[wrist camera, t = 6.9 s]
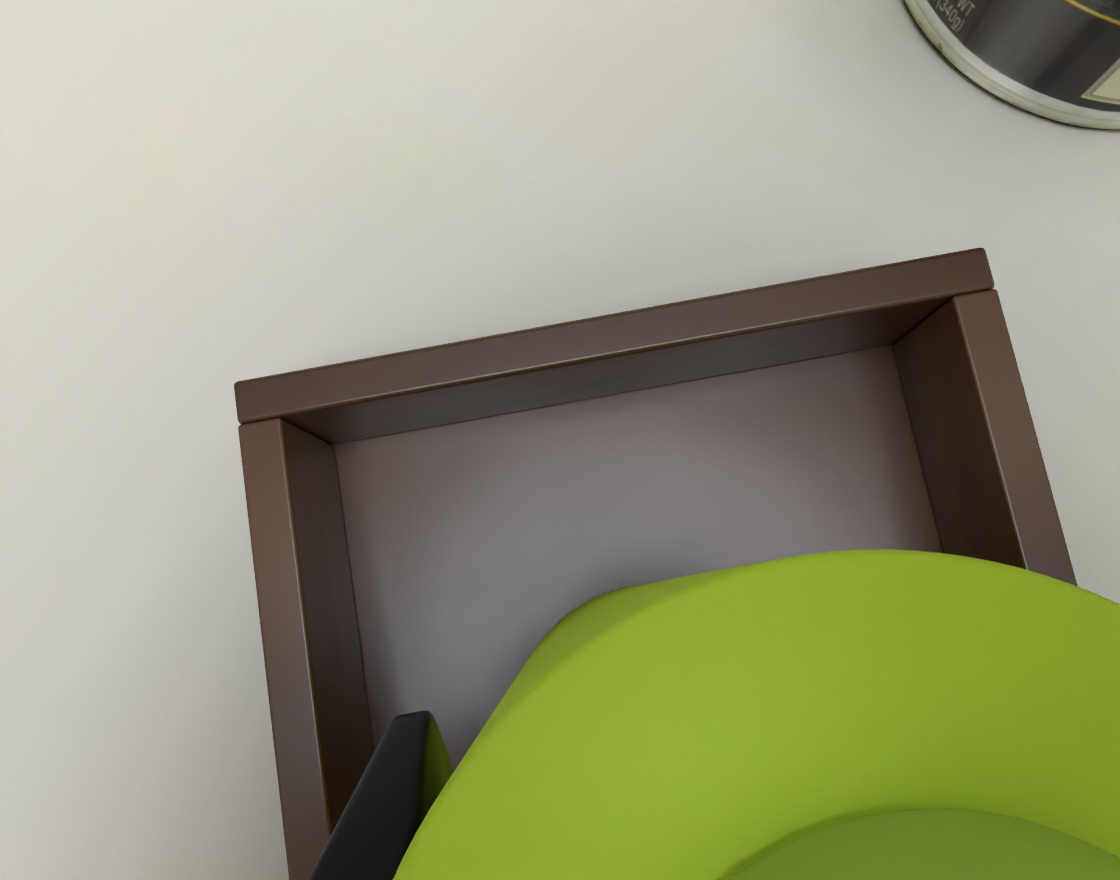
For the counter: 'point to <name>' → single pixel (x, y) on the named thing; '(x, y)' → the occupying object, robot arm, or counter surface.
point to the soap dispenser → (801, 732)
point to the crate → (609, 487)
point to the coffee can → (1034, 53)
